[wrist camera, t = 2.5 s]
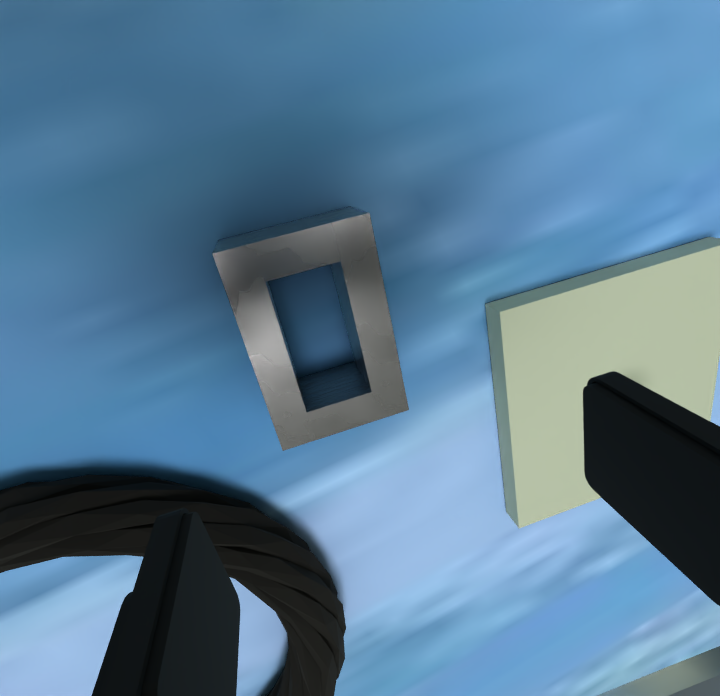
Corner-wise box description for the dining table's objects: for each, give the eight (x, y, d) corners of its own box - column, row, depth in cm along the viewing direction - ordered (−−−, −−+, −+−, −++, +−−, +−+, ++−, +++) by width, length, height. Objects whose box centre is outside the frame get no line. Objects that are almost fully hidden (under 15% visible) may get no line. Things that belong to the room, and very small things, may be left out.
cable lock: (366, 775, 31) (-134, 951, 25) (354, 715, 34) (-88, 857, 29) (326, 453, 20) (-557, 634, 15) (315, 412, 24) (-404, 546, 18)
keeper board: (485, 303, 23) (563, 347, 17) (708, 236, 25) (847, 256, 19) (506, 511, 29) (569, 595, 24) (685, 446, 31) (784, 508, 25)
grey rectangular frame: (218, 240, 19) (212, 253, 16) (350, 206, 20) (369, 212, 17) (278, 412, 23) (283, 450, 20) (387, 377, 23) (408, 409, 20)
